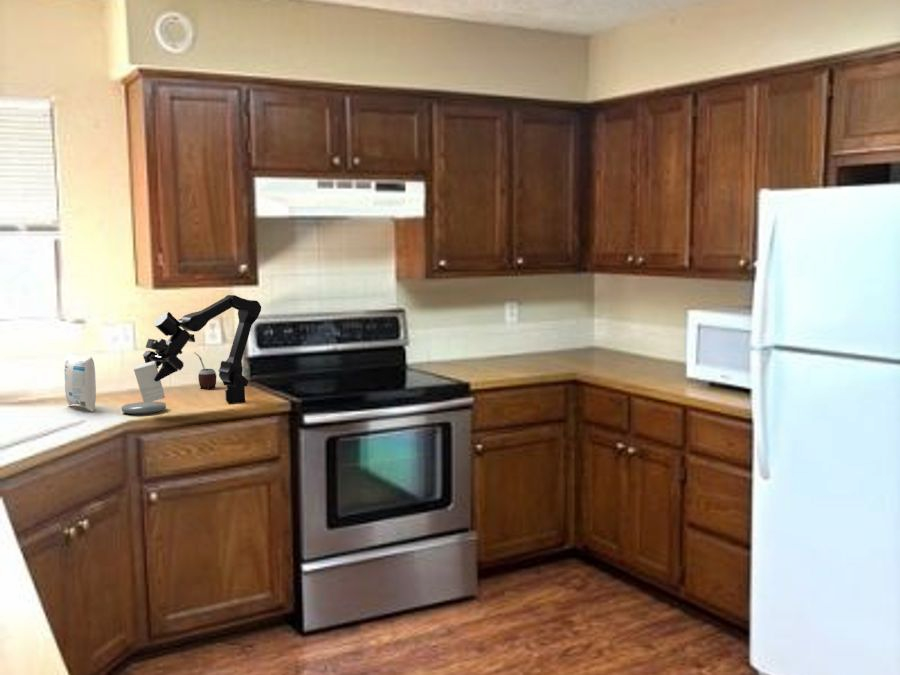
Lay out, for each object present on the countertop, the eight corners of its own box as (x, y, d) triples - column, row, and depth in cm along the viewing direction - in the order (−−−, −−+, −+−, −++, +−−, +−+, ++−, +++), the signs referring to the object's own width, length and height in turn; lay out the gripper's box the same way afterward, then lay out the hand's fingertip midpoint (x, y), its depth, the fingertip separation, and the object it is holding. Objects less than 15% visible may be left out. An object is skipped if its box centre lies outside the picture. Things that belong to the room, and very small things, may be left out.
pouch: (81, 413, 318) (77, 358, 315) (60, 406, 331) (57, 353, 329) (103, 410, 323) (99, 355, 321) (82, 403, 337) (79, 351, 334)
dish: (164, 406, 330) (164, 400, 329) (167, 413, 316) (167, 407, 315) (121, 409, 324) (121, 403, 324) (122, 417, 310) (122, 411, 310)
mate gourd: (217, 389, 363) (216, 353, 361) (197, 391, 360) (196, 354, 358) (215, 386, 370) (213, 350, 368) (195, 388, 367) (194, 352, 365)
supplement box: (164, 394, 315) (155, 360, 313) (165, 398, 308) (155, 363, 306) (143, 400, 313) (133, 365, 310) (143, 404, 306) (133, 369, 304)
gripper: (146, 328, 317) (118, 362, 310) (173, 331, 304) (145, 367, 298) (167, 347, 324) (141, 381, 317) (195, 351, 311) (168, 387, 304)
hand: (148, 379), depth 309 cm, fingers closed on supplement box, 9 cm apart
